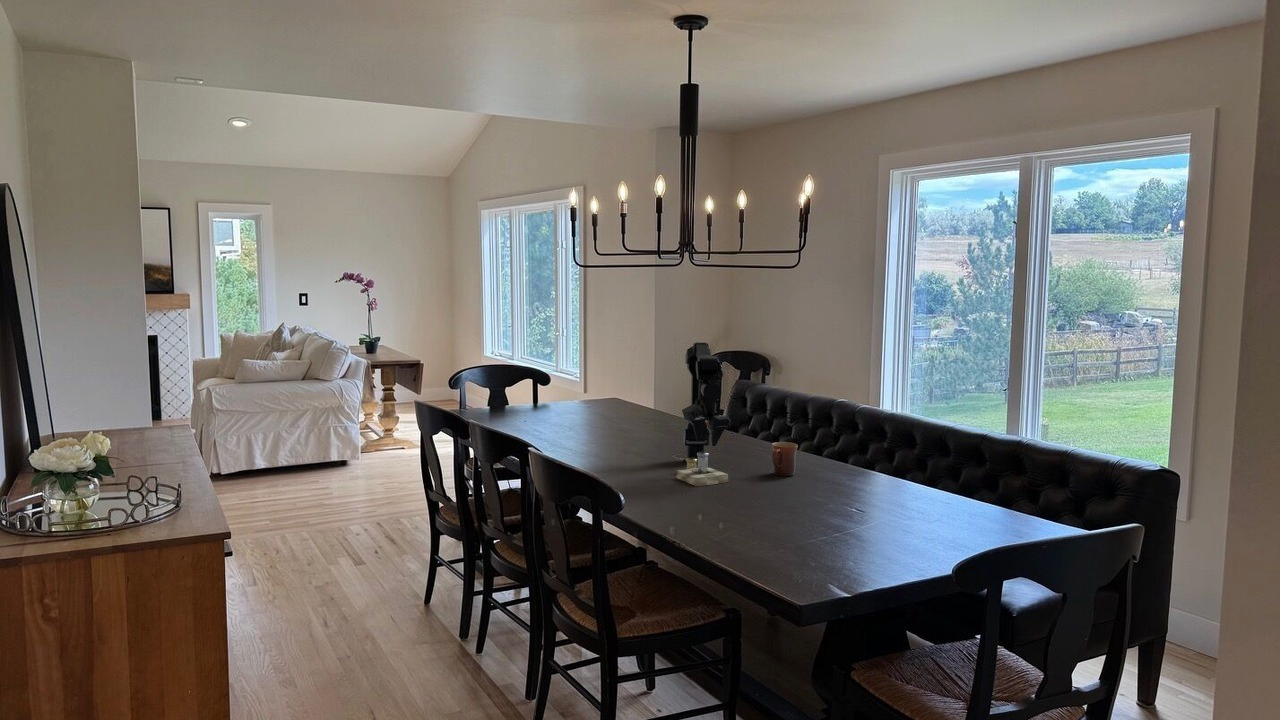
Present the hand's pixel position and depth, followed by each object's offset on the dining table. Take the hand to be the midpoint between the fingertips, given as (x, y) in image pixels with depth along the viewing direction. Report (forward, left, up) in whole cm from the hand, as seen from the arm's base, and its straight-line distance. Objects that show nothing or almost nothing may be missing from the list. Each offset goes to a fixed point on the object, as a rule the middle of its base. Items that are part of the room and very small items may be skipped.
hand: (706, 443), depth 286 cm
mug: (+7, +26, -12) cm, 30 cm away
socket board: (+1, -2, -12) cm, 12 cm away
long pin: (+1, -2, -12) cm, 12 cm away
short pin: (-10, +1, -12) cm, 16 cm away
